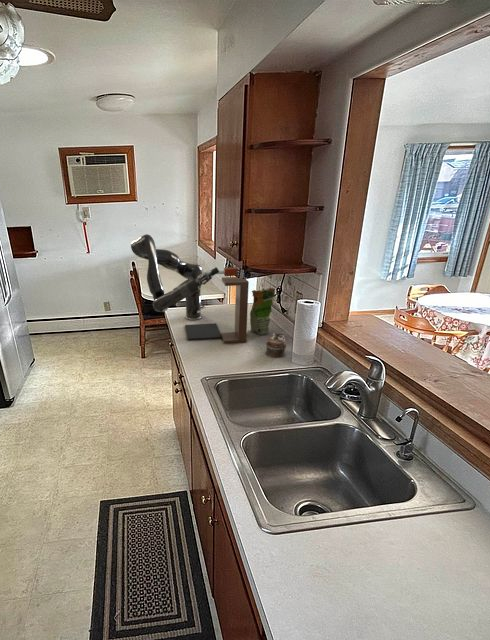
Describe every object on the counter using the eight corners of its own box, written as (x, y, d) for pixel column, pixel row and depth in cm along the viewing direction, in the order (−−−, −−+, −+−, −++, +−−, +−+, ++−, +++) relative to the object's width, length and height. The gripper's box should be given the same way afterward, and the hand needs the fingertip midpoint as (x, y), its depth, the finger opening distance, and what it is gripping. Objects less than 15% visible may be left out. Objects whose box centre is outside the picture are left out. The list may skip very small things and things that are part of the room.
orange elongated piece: (204, 275, 196) (204, 268, 195) (235, 274, 196) (236, 267, 195) (205, 277, 193) (205, 270, 191) (237, 275, 193) (237, 268, 192)
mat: (185, 326, 230) (185, 324, 229) (215, 324, 230) (215, 323, 230) (188, 340, 210) (188, 338, 209) (221, 338, 210) (221, 336, 210)
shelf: (220, 335, 215) (221, 277, 201) (241, 334, 215) (243, 276, 201) (224, 343, 204) (225, 283, 190) (246, 342, 204) (248, 281, 190)
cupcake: (266, 349, 195) (267, 330, 191) (286, 350, 192) (287, 331, 188) (264, 356, 187) (265, 337, 183) (284, 358, 184) (286, 339, 180)
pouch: (272, 329, 220) (276, 285, 209) (268, 336, 210) (271, 291, 199) (253, 327, 224) (255, 284, 213) (247, 334, 214) (249, 289, 204)
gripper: (185, 285, 189) (216, 265, 186) (183, 278, 201) (212, 260, 198) (193, 297, 192) (223, 278, 188) (190, 290, 204) (219, 272, 201)
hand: (217, 269), depth 193 cm, fingers closed on orange elongated piece
